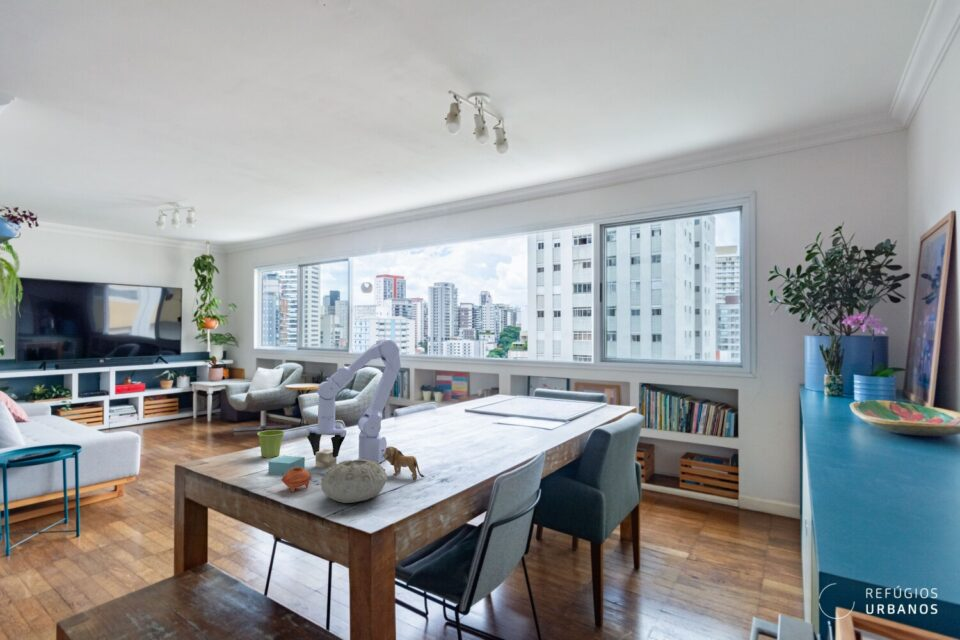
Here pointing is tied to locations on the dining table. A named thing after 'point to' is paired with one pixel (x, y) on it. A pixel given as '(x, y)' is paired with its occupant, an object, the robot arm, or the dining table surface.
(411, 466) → the lion figurine
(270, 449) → the plant pot
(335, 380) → the robot arm
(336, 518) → the dining table surface
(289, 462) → the teal base block
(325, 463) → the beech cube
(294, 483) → the pot
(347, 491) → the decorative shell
